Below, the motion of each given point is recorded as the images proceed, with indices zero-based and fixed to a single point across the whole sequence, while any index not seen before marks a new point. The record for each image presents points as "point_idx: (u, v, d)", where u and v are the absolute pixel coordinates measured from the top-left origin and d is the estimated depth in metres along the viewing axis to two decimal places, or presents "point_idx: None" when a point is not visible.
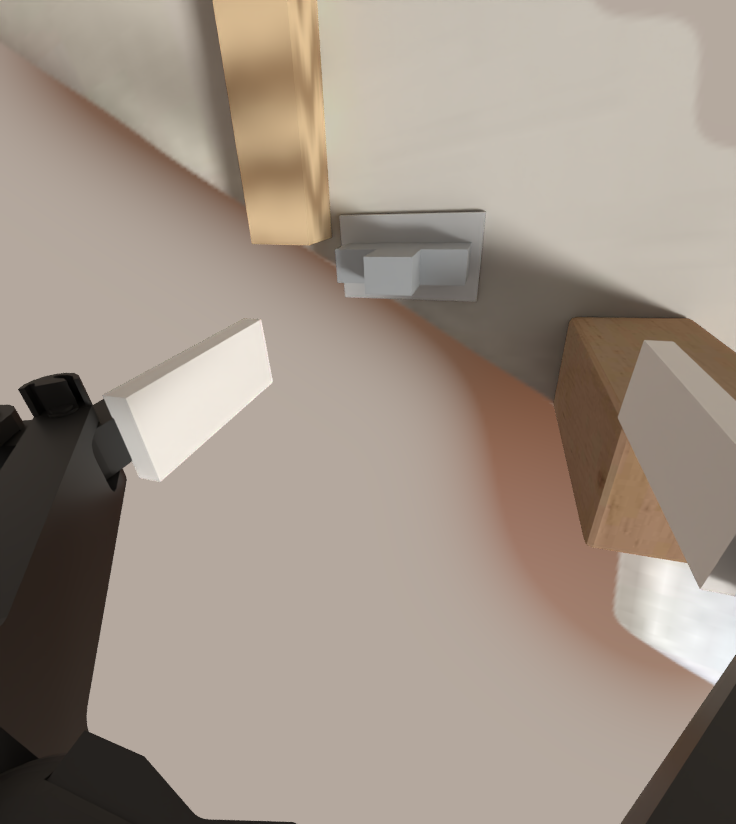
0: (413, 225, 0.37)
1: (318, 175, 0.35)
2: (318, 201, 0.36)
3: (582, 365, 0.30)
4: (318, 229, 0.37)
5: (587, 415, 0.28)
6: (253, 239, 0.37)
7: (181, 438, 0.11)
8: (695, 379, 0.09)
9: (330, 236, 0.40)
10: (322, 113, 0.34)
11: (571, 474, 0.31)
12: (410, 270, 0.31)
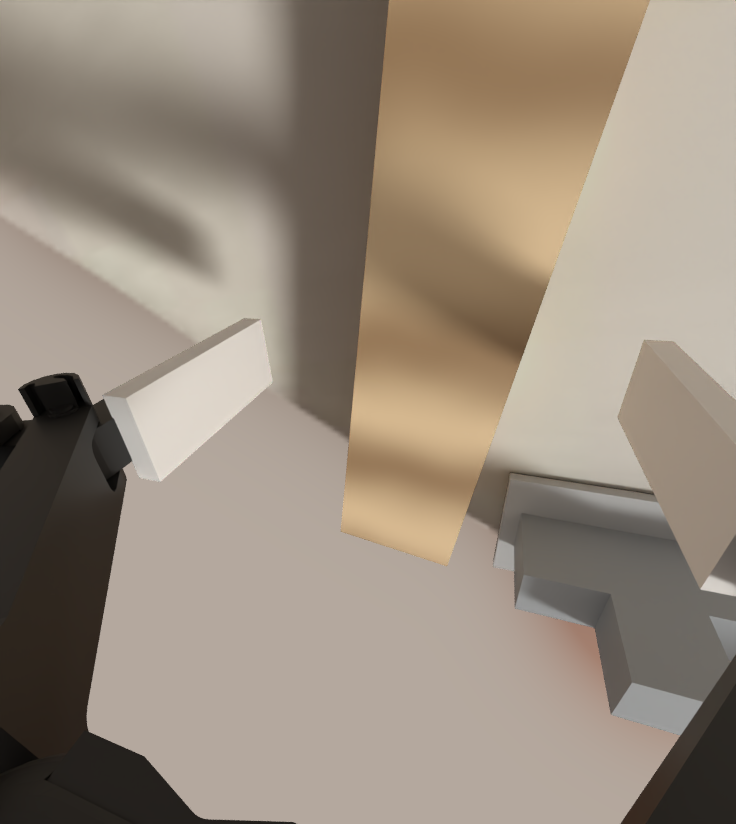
0: (652, 516, 0.21)
1: None
2: None
3: None
4: None
5: None
6: (345, 528, 0.21)
7: (181, 438, 0.11)
8: (695, 379, 0.09)
9: None
10: None
11: None
12: None
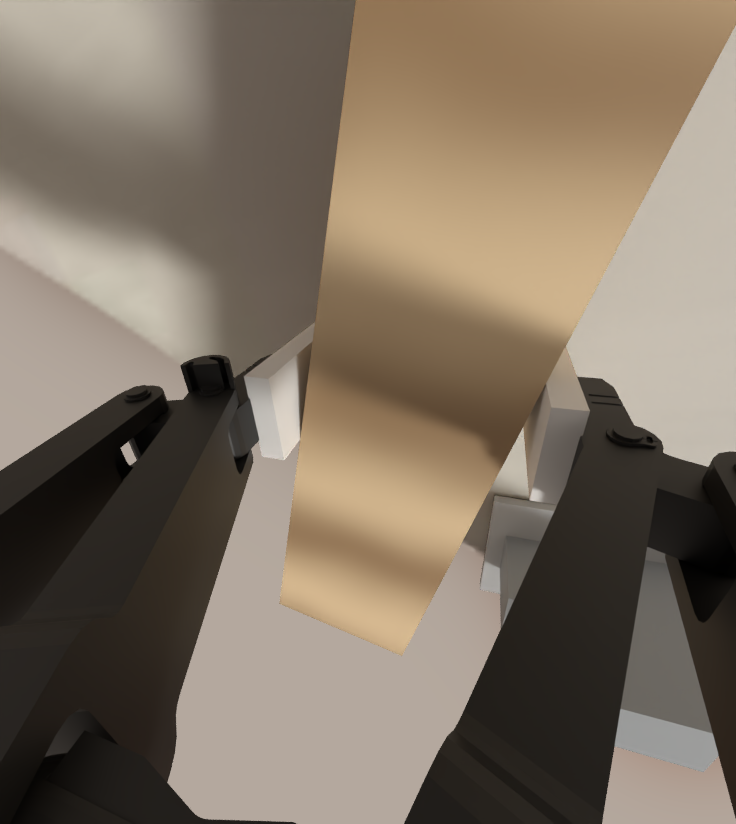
0: None
1: None
2: None
3: None
4: None
5: None
6: (285, 601, 0.18)
7: (298, 420, 0.12)
8: None
9: None
10: None
11: None
12: None
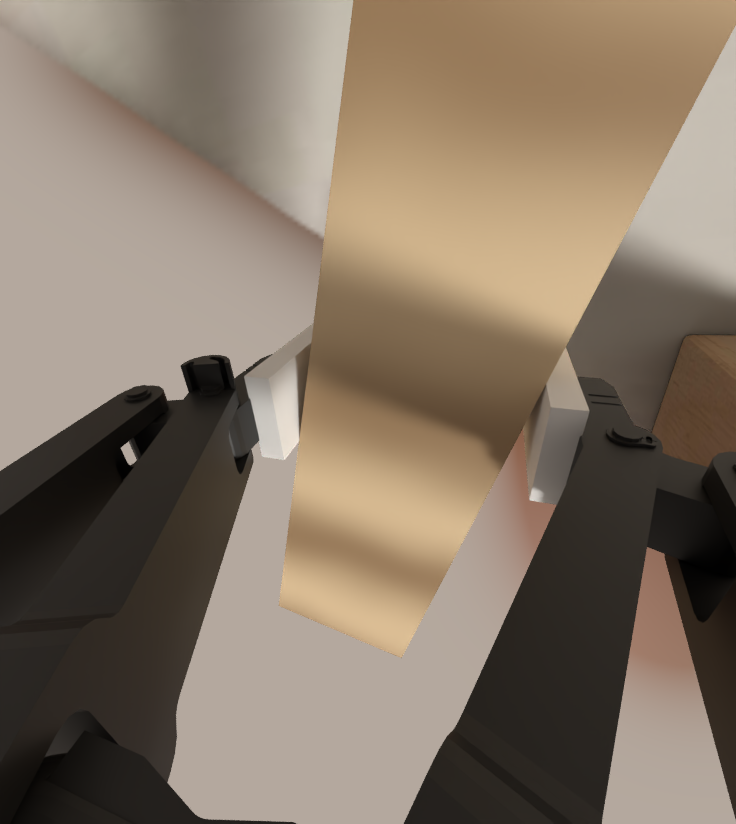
0: None
1: None
2: None
3: (734, 405, 0.23)
4: None
5: None
6: (284, 603, 0.18)
7: (298, 420, 0.12)
8: None
9: None
10: None
11: None
12: None
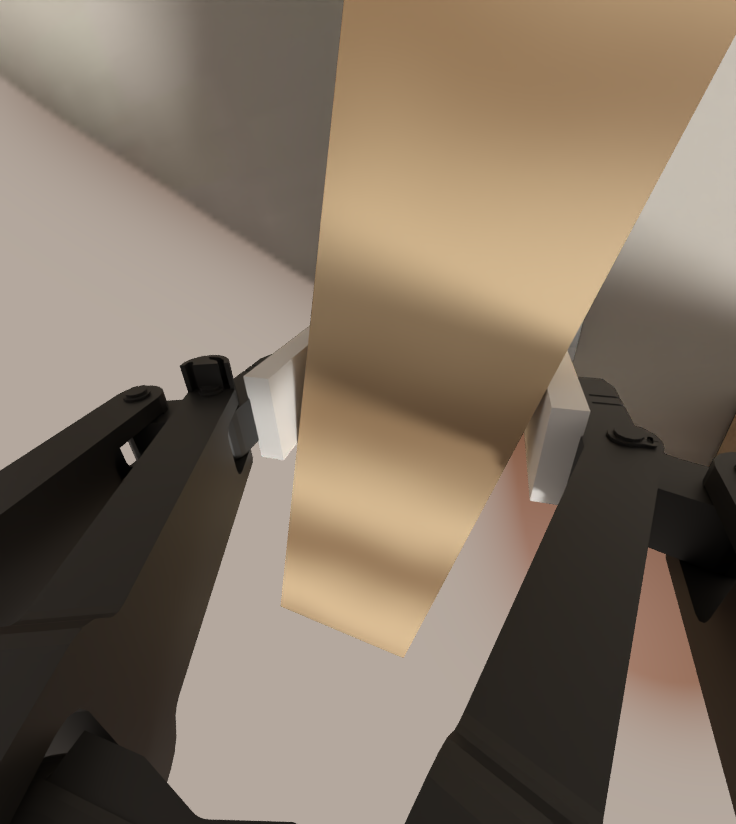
0: None
1: None
2: None
3: None
4: None
5: None
6: (286, 603, 0.18)
7: (297, 420, 0.12)
8: None
9: None
10: None
11: None
12: None
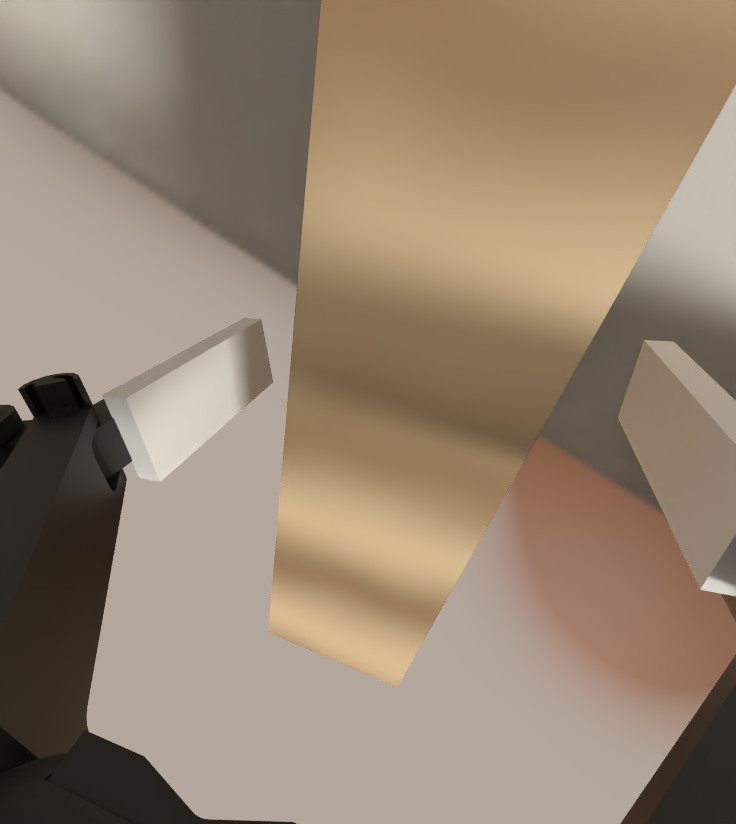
0: None
1: None
2: None
3: None
4: None
5: None
6: (274, 629, 0.17)
7: (181, 438, 0.11)
8: (695, 379, 0.09)
9: None
10: None
11: None
12: None
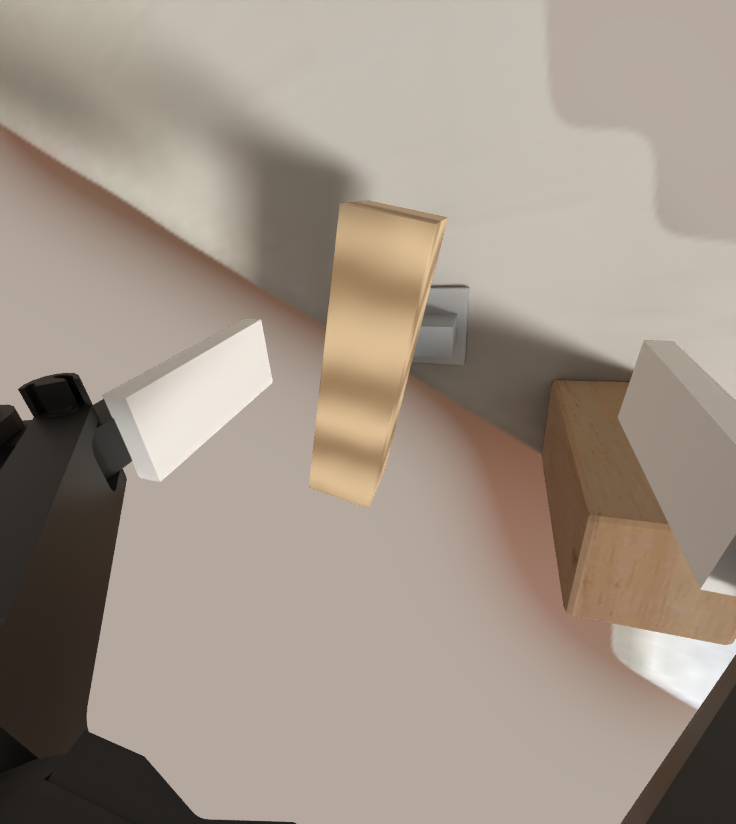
0: None
1: (389, 441, 0.35)
2: (383, 461, 0.36)
3: (561, 435, 0.33)
4: (377, 483, 0.37)
5: (564, 487, 0.30)
6: (311, 485, 0.36)
7: (181, 438, 0.11)
8: (695, 379, 0.09)
9: (383, 471, 0.40)
10: (404, 387, 0.34)
11: (554, 537, 0.33)
12: None
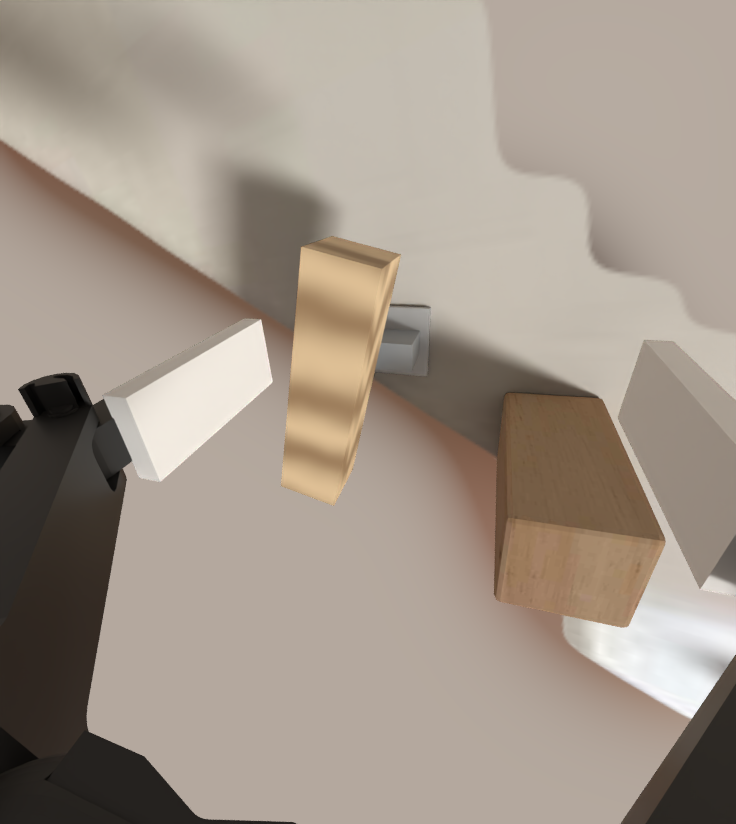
0: None
1: (353, 446, 0.39)
2: (348, 464, 0.40)
3: (503, 445, 0.37)
4: (343, 483, 0.41)
5: (501, 491, 0.34)
6: (283, 484, 0.40)
7: (181, 438, 0.11)
8: (695, 379, 0.09)
9: None
10: (367, 399, 0.38)
11: (495, 534, 0.37)
12: None
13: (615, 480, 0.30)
